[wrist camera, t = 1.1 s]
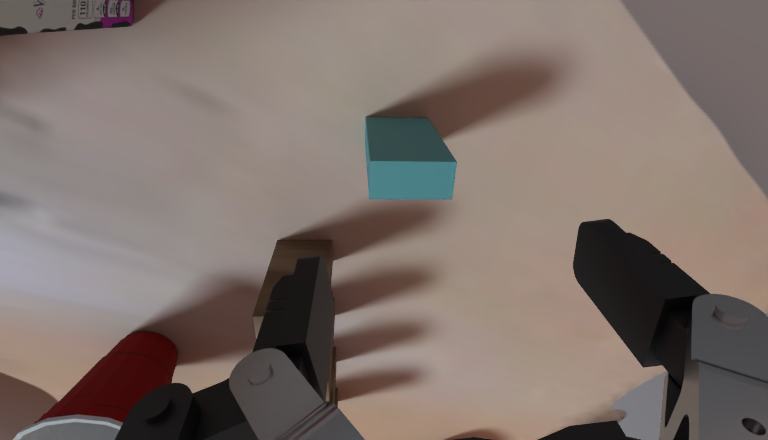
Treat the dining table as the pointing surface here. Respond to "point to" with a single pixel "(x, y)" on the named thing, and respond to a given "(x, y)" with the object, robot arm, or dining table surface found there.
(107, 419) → the plastic cup
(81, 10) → the candy bar box
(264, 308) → the walnut domino
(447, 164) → the teal domino
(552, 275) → the dining table surface
